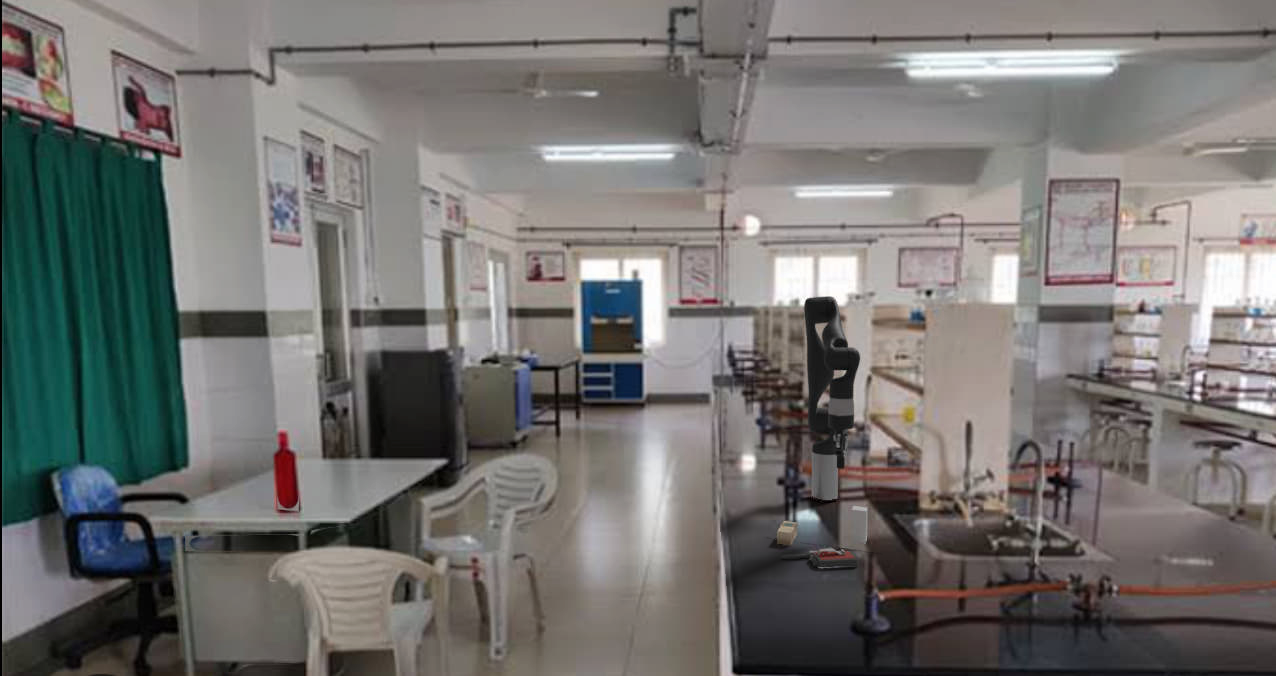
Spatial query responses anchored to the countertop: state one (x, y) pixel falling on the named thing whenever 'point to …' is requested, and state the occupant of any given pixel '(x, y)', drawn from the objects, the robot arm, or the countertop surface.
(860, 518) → the grey block
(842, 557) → the walkie-talkie
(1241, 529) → the countertop surface
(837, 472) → the robot arm
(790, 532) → the beech block
